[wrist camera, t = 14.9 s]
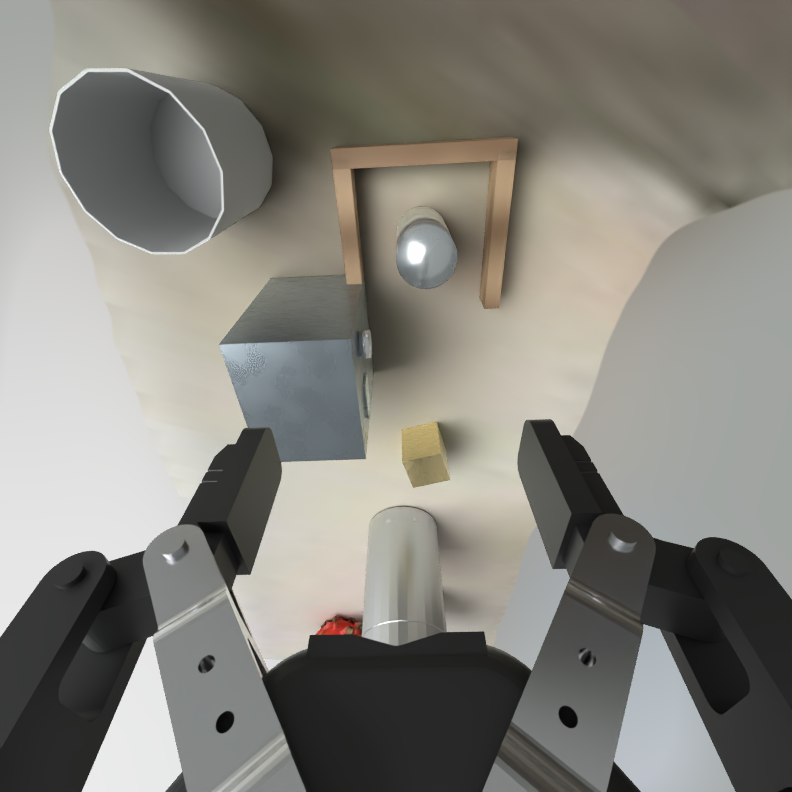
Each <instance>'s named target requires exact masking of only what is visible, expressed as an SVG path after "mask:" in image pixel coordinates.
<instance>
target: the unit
mask: <svg viewBox="0 0 792 792" xmlns="http://www.w3.org/2000/svg"><path fill="white" fill-rule="evenodd" d="M219 346H220V349H221V352H222V355H223V358H224V361H225V364H226V366H227V369H228V372H229V375H230V378H231V381H232V384H233V386H234V389H235V392H236V395H237V398H238V401H239V404H240V406H241V409H242V412H243V415H244V418H245V421H246V424H247V426H248V428H258V427H269V428H270V429H271V430H272V433H273V436H274V440H275V443H276V447H277V450H278V454H279V457H280V461H281V462H290V461H320V460H349V459H366V450H367V439H368V428H369V417H370V406H371V394H372V383H373V364H372V339H371V331H370V330H369V323H368V312H367V302H366V291H365V281H364V276H363V280H362V284H347V281H346V275H332V276H311V277H290V278H271V279H270V280H269V281H268V283H267V284H266V285H265V286H264V288H263V289H262V290H261V292H260V293H259V294H258V295H257V297H256V298H255V299H254V301H253V302H252V303H251V304H250V306H249V307H248V308H247V309H246V311H245V312H244V313H243V315H242V316H241V317H240V318H239V320H238V321H237V322H236V324H235V325H234V326H233V327H232V329H231V330H230V331H229V332H228V334H227V335H226V336H225V338H224V339H223V340H222V341H221V343H220V344H219Z"/></svg>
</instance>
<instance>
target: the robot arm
mask: <svg viewBox="0 0 792 792" xmlns="http://www.w3.org/2000/svg"><path fill="white" fill-rule="evenodd" d="M518 471H519V475H520V478H521V481H522V484H523V487H524V489H525V492H526V495H527V498H528V501H529V503H530V506H531V509H532V512H533V515H534V518H535V520H536V523H537V526H538V529H539V532H540V534H541V537H542V540H543V543H544V546H545V549H546V551H547V554H548V557H549V560H550V563H551V566H552V568H553V569H567V571H568V574H569V576H570V579H569V582H568V584H567V586H566V589H565V591H564V594H563V596H562V598H561V601H560V603H559V606H558V608H557V611H556V613H555V616H554V618H553V620H552V623H551V626H550V628H549V630H548V633H547V635H546V638H545V640H544V642H543V645H542V647H541V650H540V653H539V655H538V657H537V660H536V662H535V664H534V667H533V670H532V671H531V670H530V669H529V668H528V667H527V666H526V665H525V664H523V663H522V662H520V661H519V660H517V659H516V658H515V657H513V656H511V655H510V654H508V653H506V652H504V651H502V650H499V649H497V648H495V647H491V646H488V645H486V640H485V634H484V632H447V631H446V621H445V611H444V600H443V590H442V580H441V569H440V559H439V547H438V537H437V527H436V523H435V521H434V519H433V518H432V517H431V516H430V515H429V514H428V513H426V512H424V511H422V510H420V509H417V508H412V507H394V508H390V509H386V510H384V511H382V512H380V513H378V514H377V515H376V516H375V517H374V518H373V519H372V520H371V522H370V525H369V536H368V551H367V564H366V580H365V595H364V610H363V626H362V637H361V636H357V635H353V634H338V635H310V638H309V644H308V649H305V650H302V651H300V652H298V653H296V654H294V655H291V656H290V657H288V658H286V659H285V660H283V661H281V662H280V663H279V664H277V665H276V666H275V667H274V668H272V669H271V670H270V671H268V668H267V667H266V664H265V662H264V660H263V658H262V656H261V654H260V651H259V649H258V647H257V645H256V643H255V640H254V638H253V636H252V633H251V631H250V629H249V626H248V624H247V622H246V619H245V617H244V615H243V612H242V610H241V608H240V605H239V603H238V601H237V598H236V596H235V593H234V591H233V589H232V586H233V583H234V580H235V577H236V575H250V574H251V571H252V568H253V565H254V562H255V559H256V556H257V552H258V549H259V546H260V543H261V540H262V537H263V534H264V531H265V527H266V524H267V521H268V518H269V515H270V512H271V509H272V506H273V503H274V499H275V496H276V493H277V490H278V487H279V484H280V480H281V474H282V467H281V461H280V457H279V454H278V450H277V447H276V443H275V440H274V436H273V433H272V430H271V429H270V428H269V427H258V428H244V429H243V431H242V432H241V435H240V437H239V439H238V441H237V443H236V444H230V445H227V446H226V447H225V448H224V449H222V450H221V451H220V452H219V453H218V454H217V455H216V456H215V457H214V459H213V461H212V463H211V465H210V467H209V468H208V472H206V474H205V476H204V478H203V479H202V483H200V485H199V487H198V489H197V491H196V492H195V494H194V496H193V498H192V500H191V502H190V504H189V505H188V507H187V509H186V511H185V513H184V515H183V516H182V518H181V520H180V522H179V524H178V525H177V526H175V527H173V528H170V529H168V530H166V531H164V532H163V533H161V534H160V535H158V536H157V537H156V538H155V539H154V540H153V541H152V542H151V543H150V545H149V546H148V547H147V549H146V550H145V551H142V552H139V553H136V554H132V555H129V556H125V557H122V558H119V559H116V560H112V561H108V560H107V559H106V557H105V556H104V555H103V554H102V553H99V552H96V551H86V552H81V553H78V554H75V555H73V556H71V557H68V558H67V559H65V560H63V561H61V562H60V563H59V564H57V565H56V566H54V567H53V568H52V569H51V570H50V571H49V572H48V573H47V574H46V575H45V576H44V577H43V579H42V580H41V581H40V583H39V584H38V586H37V587H36V588H35V590H34V591H33V593H32V594H31V595H30V597H29V598H28V599H27V601H26V602H25V604H24V605H23V606H22V608H21V609H20V611H19V612H18V613H17V615H16V616H15V618H14V619H13V621H12V622H11V623H10V625H9V626H8V627H7V629H6V630H5V632H4V633H3V634H2V636H1V637H0V792H82V789H83V787H84V785H85V782H86V780H87V777H88V775H89V773H90V771H91V768H92V766H93V764H94V761H95V759H96V757H97V754H98V752H99V749H100V747H101V745H102V742H103V740H104V738H105V735H106V733H107V731H108V729H109V726H110V724H111V721H112V719H113V717H114V714H115V712H116V710H117V707H118V705H119V703H120V700H121V698H122V696H123V693H124V691H125V689H126V686H127V684H128V682H129V679H130V677H131V675H132V672H133V670H134V668H135V665H136V663H137V661H138V658H139V656H140V654H141V651H142V649H143V647H144V644H145V642H146V639H147V638H148V637H151V636H153V641H154V647H155V651H156V656H157V660H158V664H159V669H160V674H161V678H162V683H163V687H164V691H165V696H166V700H167V705H168V709H169V714H170V718H171V723H172V727H173V732H174V736H175V740H176V745H177V749H178V754H179V758H180V763H181V767H182V773H181V774H180V775H179V776H178V777H177V779H176V780H175V781H174V782H173V783H172V785H171V786H170V787H169V788H168V789H167V790H166V792H640V790H639V789H638V788H637V787H636V786H635V785H634V784H633V782H632V781H631V780H630V779H629V778H628V777H627V776H626V775H625V774H624V772H623V771H622V770H621V769H620V768H619V767H618V766H617V765H616V764H615V762H614V757H615V752H616V748H617V744H618V739H619V735H620V730H621V726H622V722H623V717H624V713H625V708H626V704H627V700H628V695H629V691H630V686H631V682H632V678H633V673H634V669H635V665H636V660H637V656H638V652H639V647H640V643H641V638H642V633H643V624H645V625H648V626H652V627H655V628H658V629H660V630H661V632H662V635H663V636H664V639H665V641H666V643H667V645H668V647H669V650H670V651H671V654H672V656H673V658H674V660H675V662H676V665H677V667H678V669H679V671H680V673H681V675H682V677H683V680H684V682H685V684H686V686H687V688H688V690H689V693H690V695H691V696H692V699H693V701H694V703H695V705H696V707H697V710H698V712H699V714H700V716H701V718H702V720H703V723H704V724H705V727H706V729H707V731H708V733H709V735H710V737H711V740H712V742H713V744H714V746H715V748H716V751H717V753H718V755H719V757H720V759H721V761H722V763H723V765H724V768H725V770H726V772H727V774H728V776H729V778H730V781H731V783H732V785H733V787H734V789H735V791H736V792H792V599H791V598H790V597H789V595H788V594H787V593H786V591H785V590H784V589H783V588H782V586H781V585H780V584H779V582H778V581H777V580H776V578H775V577H774V576H773V574H772V573H771V572H770V571H769V569H768V568H767V567H766V565H765V564H764V563H763V562H762V561H761V560H760V559H759V558H758V557H757V556H756V555H755V554H753V553H752V552H751V551H749V550H748V549H746V548H745V547H743V546H741V545H739V544H737V543H735V542H732V541H730V540H727V539H722V538H716V537H709V538H705V539H702V540H700V541H699V542H698V543H697V545H696V547H695V548H690V547H686V546H682V545H678V544H674V543H670V542H665V541H662V540H659V539H655V538H653V537H652V536H651V534H650V533H649V532H648V531H647V530H646V529H645V528H644V527H643V526H642V525H640V524H639V523H638V522H636V521H634V520H633V519H631V518H628V517H626V516H624V515H623V514H622V512H621V510H620V508H619V507H618V505H617V503H616V502H615V500H614V498H613V496H612V495H611V493H610V491H609V490H608V488H607V486H606V484H605V483H604V481H603V479H602V478H601V476H600V474H598V473H597V469H596V467H595V466H594V464H593V463H592V462H591V459H590V457H589V456H588V454H587V452H586V450H585V449H584V447H583V446H582V445H581V444H580V443H579V442H577V441H576V440H575V439H574V438H573V437H571V436H570V435H562V436H561V435H560V433H559V431H558V429H557V427H556V425H555V423H554V422H553V421H552V420H551V419H546V420H526V421H525V423H524V427H523V432H522V437H521V442H520V448H519V453H518Z"/></svg>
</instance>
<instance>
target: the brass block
mask: <svg viewBox="0 0 792 792" xmlns="http://www.w3.org/2000/svg"><path fill="white" fill-rule="evenodd" d="M402 462H403V465H404V467H405V469H406V472H407V474H408V476H409V479H410V481H411V484H412V486H413V488H414V487H419V486H424V485H428V484H433V483H438V482H443V481H448V480H450V477H449V470H448V463H447V456H446V449H445V445H444V442H443V439H442V436H441V433H440V430H439V427H438V424H437V422H433V423H429V424H425V425H421V426H416V427H412V428H408V429H404V430H402Z"/></svg>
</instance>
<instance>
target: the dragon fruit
mask: <svg viewBox="0 0 792 792" xmlns="http://www.w3.org/2000/svg"><path fill="white" fill-rule="evenodd" d="M332 621H333V622H328V621H325V623H324V624H323V625H322V626H321V629H320V630H319V631H318V633H317V634H316V635H338V634H353V635H357V636H361V637H362V630H360V628H359V626H360V625H362V626H363V623H361V622H358V623H355V620H354V619H353V618H350V619H349V620H348V621H344V620H343V619H342V618H341V617H339V618H338V617H337V616H334V617H333V620H332Z"/></svg>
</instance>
